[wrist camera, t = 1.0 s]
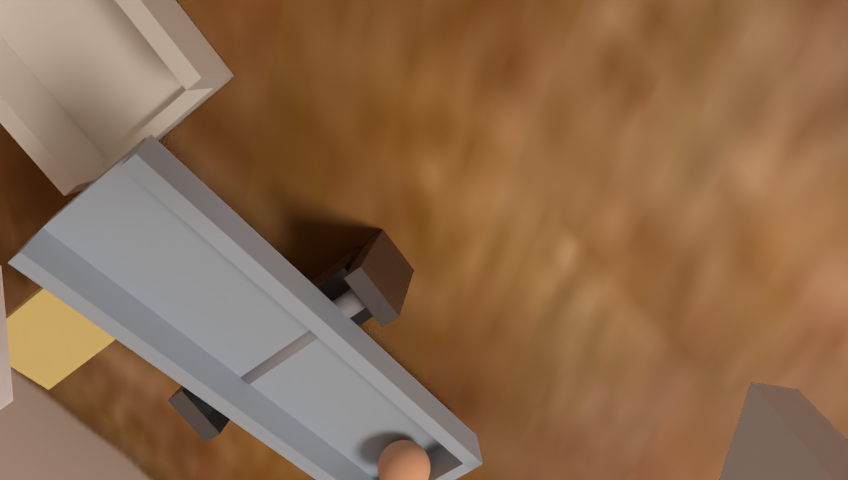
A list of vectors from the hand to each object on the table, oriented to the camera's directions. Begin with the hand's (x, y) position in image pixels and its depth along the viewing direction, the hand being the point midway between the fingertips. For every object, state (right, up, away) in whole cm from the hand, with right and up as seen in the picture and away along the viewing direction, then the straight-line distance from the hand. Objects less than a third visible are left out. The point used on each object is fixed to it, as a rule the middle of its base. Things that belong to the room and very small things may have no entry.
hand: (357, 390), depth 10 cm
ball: (0, -10, +23) cm, 25 cm away
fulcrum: (-5, -1, +25) cm, 26 cm away
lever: (-8, -4, +22) cm, 24 cm away
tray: (-17, +14, +22) cm, 31 cm away
